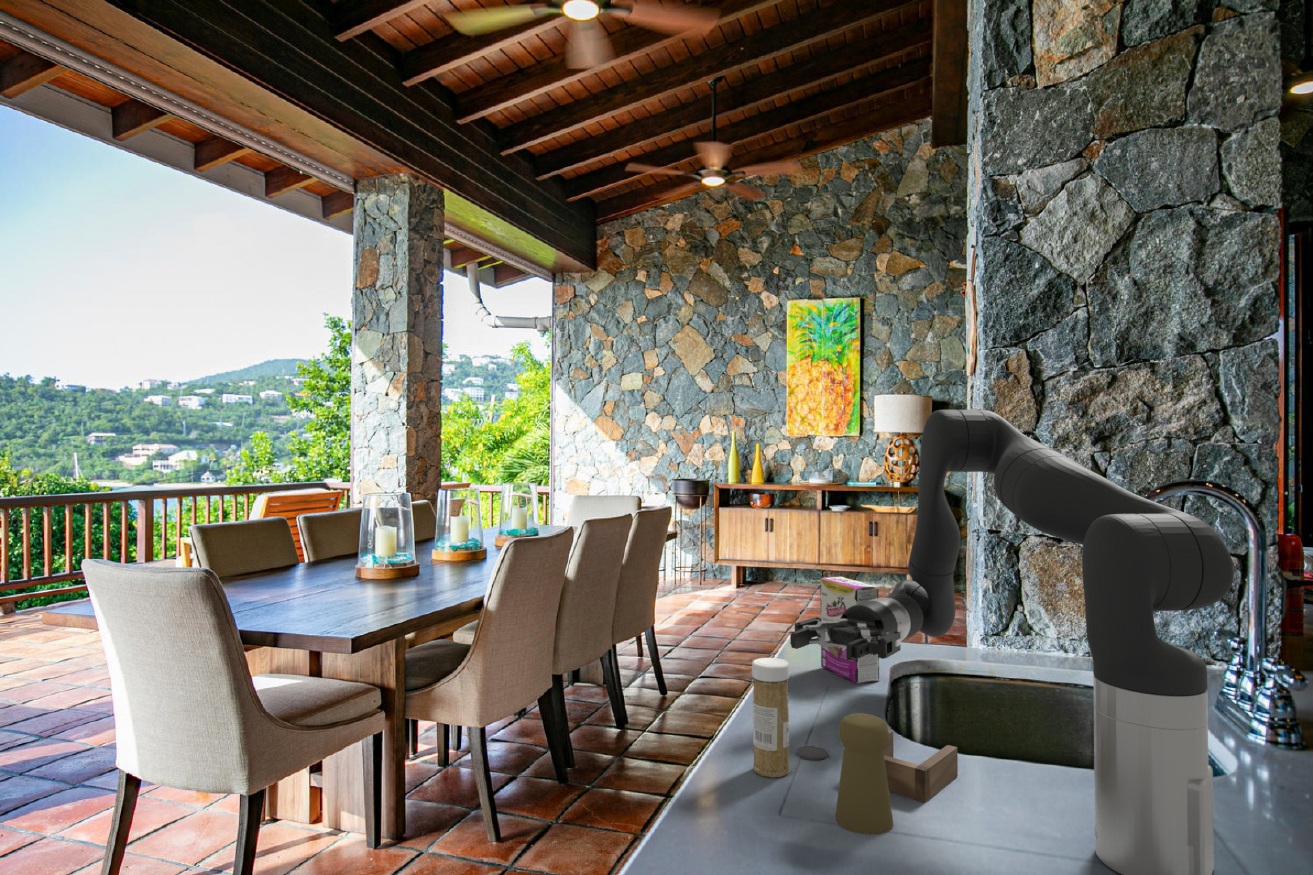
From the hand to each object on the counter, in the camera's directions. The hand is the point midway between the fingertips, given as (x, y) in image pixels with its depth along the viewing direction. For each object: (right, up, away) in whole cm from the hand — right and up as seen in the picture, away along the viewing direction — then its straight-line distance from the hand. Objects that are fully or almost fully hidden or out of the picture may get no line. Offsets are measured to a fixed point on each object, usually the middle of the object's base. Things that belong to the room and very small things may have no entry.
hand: (820, 646), depth 105 cm
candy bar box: (+12, -14, +32) cm, 37 cm away
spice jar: (-8, -13, -9) cm, 18 cm away
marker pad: (-2, -13, -4) cm, 14 cm away
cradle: (+8, -13, -12) cm, 19 cm away
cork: (0, -13, -22) cm, 26 cm away
